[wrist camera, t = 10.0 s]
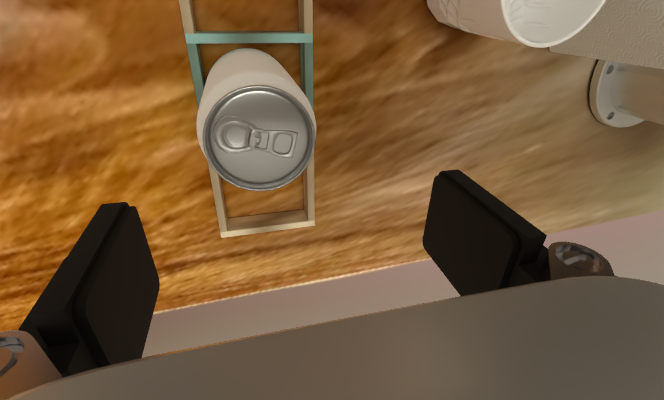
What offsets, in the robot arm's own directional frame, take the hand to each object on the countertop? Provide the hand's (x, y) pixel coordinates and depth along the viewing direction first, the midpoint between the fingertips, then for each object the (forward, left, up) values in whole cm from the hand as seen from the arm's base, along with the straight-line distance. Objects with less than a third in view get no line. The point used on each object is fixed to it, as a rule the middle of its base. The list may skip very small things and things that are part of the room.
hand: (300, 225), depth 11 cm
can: (+1, 0, -20) cm, 20 cm away
